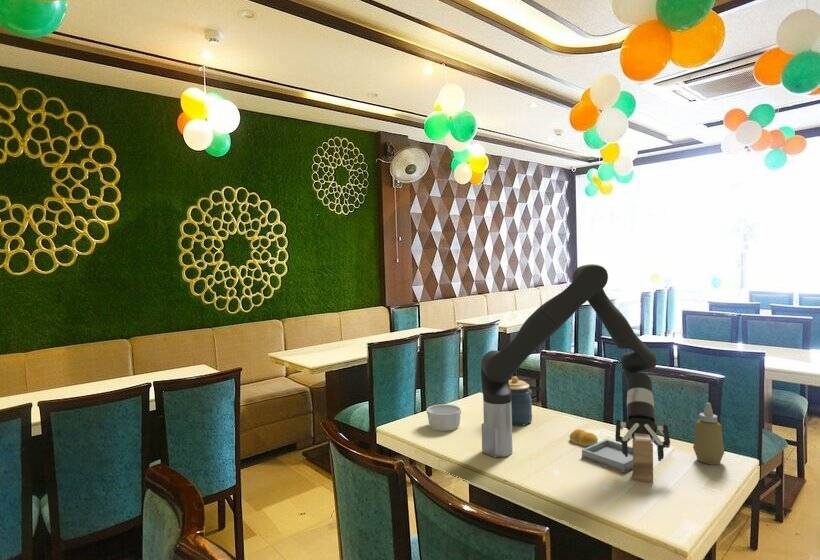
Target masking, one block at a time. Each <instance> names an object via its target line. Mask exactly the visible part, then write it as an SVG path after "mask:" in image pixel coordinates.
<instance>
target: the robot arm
mask: <svg viewBox="0 0 820 560" xmlns="http://www.w3.org/2000/svg"><path fill="white" fill-rule="evenodd" d="M571 278H572V279H571V280H572V282H571V283H570V284H569V285H568V286H567V287H566V288H565V289H563V291H561V292H560V293H558V294H556V295H555V296H553V297H552V298H550V299H549V300H547V301H546V302H544V303H543V304H541V305H540V306H538V308H537V309H536V310H535V311H534V312H533V313H532V314H530V315H529V316H528V318H527V319H525V321H524V322H523V324H522V325H521V327H520V328H519V330H518V332H517V333H516V335H515V337H514V338H513V339H512V340H511V342H509V343H508V344H507V345H505V347H503V348H502V349H501V350H500V351H499V350H490V351H488V352H486V353H485V354H484V355H483V357H482V358H481V363H480V375H481V377H480V378H481V380H480V381H481V390H482V391H481V392H482V397H483V398H482V400H483V401H482V403H483V405H482V406H483V423H481V453H482V454H483V453H484V454H486V455H488V456H489V457H490V456H491V457H493V458H495V459H497V458H502V457H503V458H505V457H508V456H511V455H512V454H513V425H512V397H511V391H510V387H509V380H510V378H512V377H513V375H514V374H515V373H516V372H517V370H518V369H519V368H520V366H521V365H522V364H523V363H524V362H525V361H526V360H527V358H528V357H530V355H532V354H533V353H534V352H535V351H536V350H538V349H539V348H540V347H541V346H542V344H544V343H546V341H547V340H548V339H550V338H551V337H552V335H554V334H555V333H556V332H557V331H558V330H559V329H560V328H561V327H562V326H563V325H564V324H565V323H566V322H567V321H568V320H569V319H570V318H571V317H572V316H573V315H574V314H575V312H577V310H578V309H580V307H581V306H583V305H584V304H585V303H586V302H588V304H589V305H590V306H591V308H592V309H593V310H594V312H595V314H596V315H597V317H598V318H599V319H600V322H602V324H603V326H604V328H605V329H606V331H607V332H608V334H609V337H610V338H611V339H612V341H613V343H614V345H616V347H617V348H618V349H620V350H624V349H625V350H626V349H629V350H632V351H629V352H625V353H624V354H623V355H622V356H621V359H620V366H621V368H622V370H623V373H624V376H625V379H626V382H627V383H626V384H627V385H626V386H627V387H626V388H627V397H626V417H627V418H626V419H627V420H626V422H625V421H621V420H620V419H616V421H615V435H614V436H615V438H614V439H615V440H614V441H615V442H617V443H621V444H622V453H623V454H624V455H625V457H628V448H627V446H628V443H629V442H630V441H631V440H633V436H634V433H638V434H647V435H650V438H652V442H653V444H654V445H656V447H657V461H658V462H662V460H664V456H665V455H664V454H665V453H664V449H666V448H667V449H668V448H670V447H671V439H670V433H669V428H668V427H669V426H668V424H663V425H657V423H656V414H655V413H656V411H655V399H654V395H653V384H652V383H653V382H652V379H651V377H650V376H649V375H647V374H646V373H642V372H647V371H650V370H653V369H655V368H656V366H657V363H658V361H657V357H656V355H655V353H654V352H653V350H651V349H650V347H648V345H646V343H644V342H643V341H642V340H641V339H640V337H638V336H637V334H636V332H635V331H634V329H633V328H632V327H631V324H630V323H629V321H628V320H627V318H626V316H624V314H623V313H622V312H621V311H620V310H619V309H618V307H616V306H615V304H614V303H613V302H612V301H611V300H610V298H609V297H608V295H607V294H606V291H605V290H604V288H605V287H606V285H607V284H608V280H609V275H608V271H607V269H606V268H605V267H604V266H602V265H600V264H594V263H590V264H584V265H581V266H578V267H577V268H576V269H575V270H574V271H573V273H572V277H571ZM624 428H626V429H627V432H626V433H625V435H623V436H621V430H624ZM657 431H659V433H660V434H662V435H663V440H664V441H662V440H661V438H660V437H659V436H658V435H657Z"/></svg>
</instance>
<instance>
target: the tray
mask: <svg viewBox="0 0 820 560" xmlns="http://www.w3.org/2000/svg"><path fill="white" fill-rule="evenodd" d="M627 448H628V457H625V455H624V454H623V453H622V443H620V442H617V441H615V440H610V439H607V438H606V439H604V440H601V441H599V442H598V443H596V444H594V445H592V446H586V447H585V448H582V449H581V458H582V459H586V460H589V461H590V462H594V463H596V464H600V465H602V466H605V467H607V468H610V469H613V470H616V471H619V472H622V473H626V472H628V471H630V470H631V469H632V470H633V446H631V445H627Z"/></svg>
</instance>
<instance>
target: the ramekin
mask: <svg viewBox="0 0 820 560" xmlns="http://www.w3.org/2000/svg"><path fill="white" fill-rule="evenodd" d="M461 414H462V408H461V407H460V406H458V405H455V404H448V403H447V404H446V403H445V404H444V403H441V404H435V405H431V406H428V407H427V408H426V415H427V419H428V425H429V427H430V428H431V429H432V430H433V429H434V430H433V431H436V430H439V431H438V432H450V431H449V430H452V431H454V430H453V429H455V430H457V429H458V428H459V427H460V424H461V423H460V422H461ZM456 428H457V429H456Z"/></svg>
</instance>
